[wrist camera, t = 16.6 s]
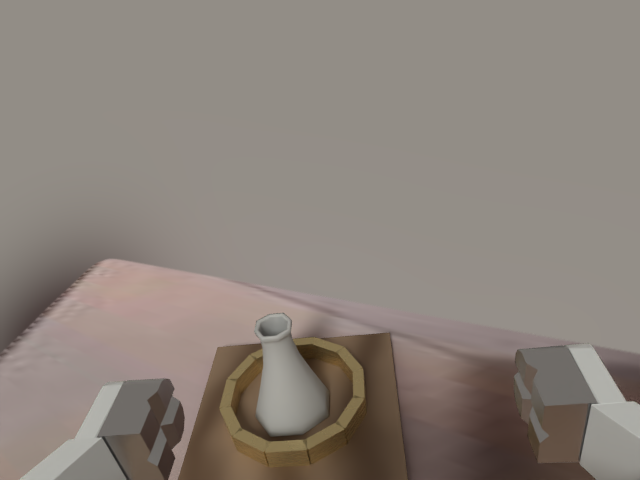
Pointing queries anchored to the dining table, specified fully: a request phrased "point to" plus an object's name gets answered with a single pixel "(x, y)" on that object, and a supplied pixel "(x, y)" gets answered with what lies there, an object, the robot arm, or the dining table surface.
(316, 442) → the wooden ring
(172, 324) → the dining table surface
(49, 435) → the dining table surface
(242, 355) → the walnut board
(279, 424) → the flask
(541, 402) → the robot arm
